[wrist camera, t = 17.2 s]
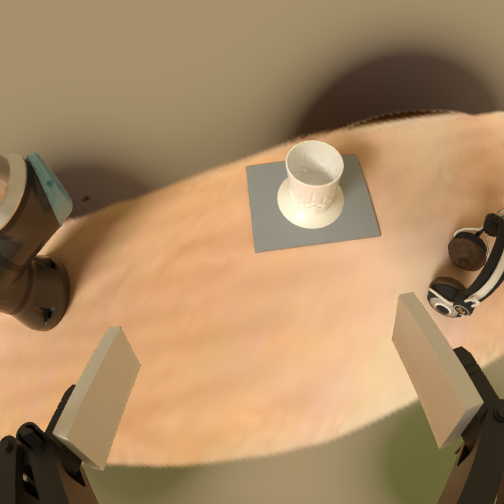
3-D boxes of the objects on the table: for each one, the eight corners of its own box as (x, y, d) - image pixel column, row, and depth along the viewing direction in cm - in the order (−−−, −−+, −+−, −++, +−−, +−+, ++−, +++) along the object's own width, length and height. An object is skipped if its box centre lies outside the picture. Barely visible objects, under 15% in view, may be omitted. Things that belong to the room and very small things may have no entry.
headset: (450, 227, 43) (509, 166, 25) (480, 251, 41) (546, 201, 23) (411, 307, 40) (482, 273, 22) (444, 333, 38) (525, 313, 19)
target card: (255, 252, 46) (255, 251, 45) (246, 167, 51) (245, 166, 51) (379, 236, 44) (380, 235, 44) (355, 155, 50) (356, 154, 49)
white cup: (294, 172, 49) (294, 134, 40) (339, 185, 48) (348, 148, 38) (280, 212, 47) (277, 177, 38) (328, 226, 45) (337, 193, 36)
